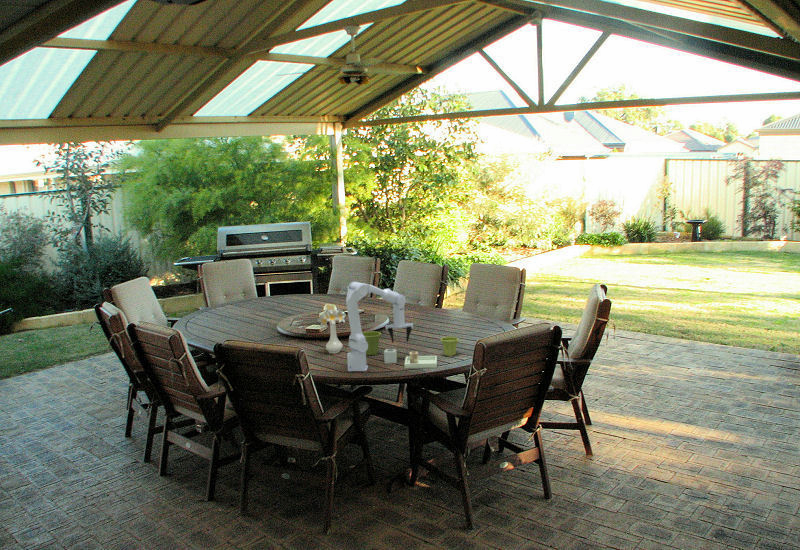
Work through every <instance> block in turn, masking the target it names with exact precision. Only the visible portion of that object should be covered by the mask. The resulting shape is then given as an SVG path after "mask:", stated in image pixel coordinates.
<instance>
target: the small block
mask: <svg viewBox="0 0 800 550" xmlns="http://www.w3.org/2000/svg"><path fill="white" fill-rule="evenodd" d="M409 356H410V364H415V363H418V356H419V351H410V352H409Z"/></svg>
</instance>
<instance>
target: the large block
mask: <svg viewBox="0 0 800 550" xmlns="http://www.w3.org/2000/svg"><path fill="white" fill-rule="evenodd" d="M383 356H384V357H383V358H384V364H397V361H398V350H397V348H385V349H384V352H383Z"/></svg>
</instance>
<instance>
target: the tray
mask: <svg viewBox="0 0 800 550" xmlns="http://www.w3.org/2000/svg"><path fill="white" fill-rule="evenodd" d="M437 357H438V356H437V355H418V363H415V364H410V355H409V356H405V359H404V370H418V369H419V370H422V369H424V370H427V369H437V368H438V358H437Z"/></svg>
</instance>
